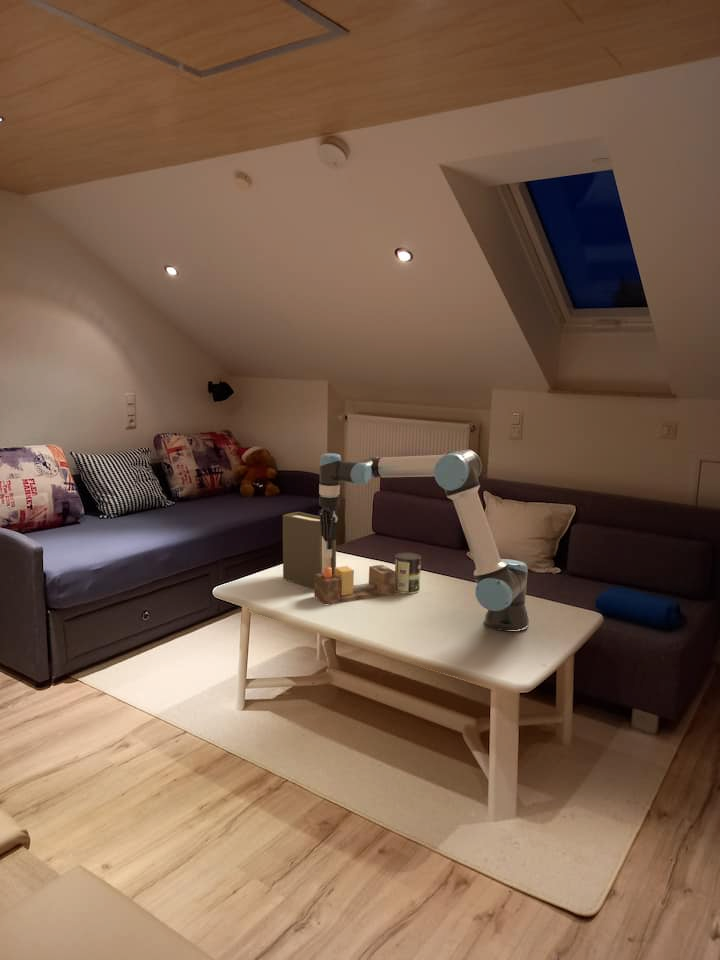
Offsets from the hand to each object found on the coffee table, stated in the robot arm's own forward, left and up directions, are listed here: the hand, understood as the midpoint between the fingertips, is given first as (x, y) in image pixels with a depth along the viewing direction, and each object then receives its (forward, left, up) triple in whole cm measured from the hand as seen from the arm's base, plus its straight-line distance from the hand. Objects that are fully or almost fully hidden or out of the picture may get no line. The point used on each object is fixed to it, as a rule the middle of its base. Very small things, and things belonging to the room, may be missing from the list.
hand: (327, 556), depth 267 cm
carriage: (0, -7, -15) cm, 17 cm away
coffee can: (-3, -34, -17) cm, 38 cm away
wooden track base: (0, -12, -17) cm, 21 cm away
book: (+21, -2, -17) cm, 27 cm away
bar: (0, -12, -15) cm, 20 cm away
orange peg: (0, 0, -10) cm, 10 cm away
